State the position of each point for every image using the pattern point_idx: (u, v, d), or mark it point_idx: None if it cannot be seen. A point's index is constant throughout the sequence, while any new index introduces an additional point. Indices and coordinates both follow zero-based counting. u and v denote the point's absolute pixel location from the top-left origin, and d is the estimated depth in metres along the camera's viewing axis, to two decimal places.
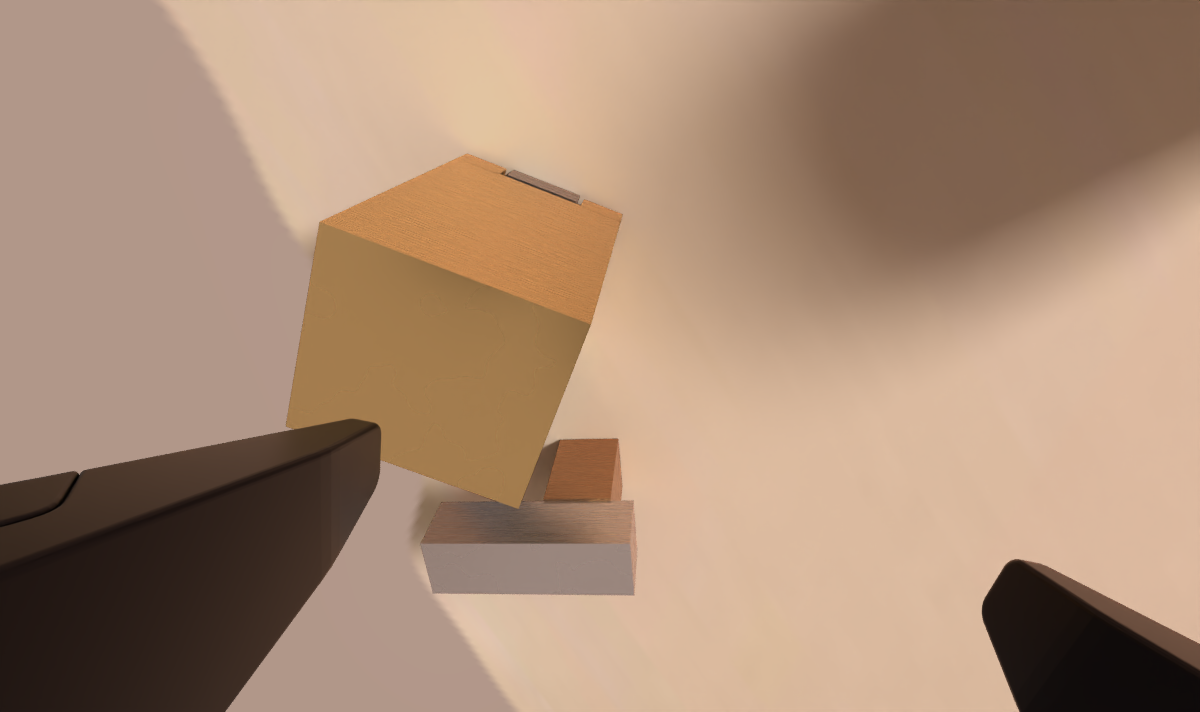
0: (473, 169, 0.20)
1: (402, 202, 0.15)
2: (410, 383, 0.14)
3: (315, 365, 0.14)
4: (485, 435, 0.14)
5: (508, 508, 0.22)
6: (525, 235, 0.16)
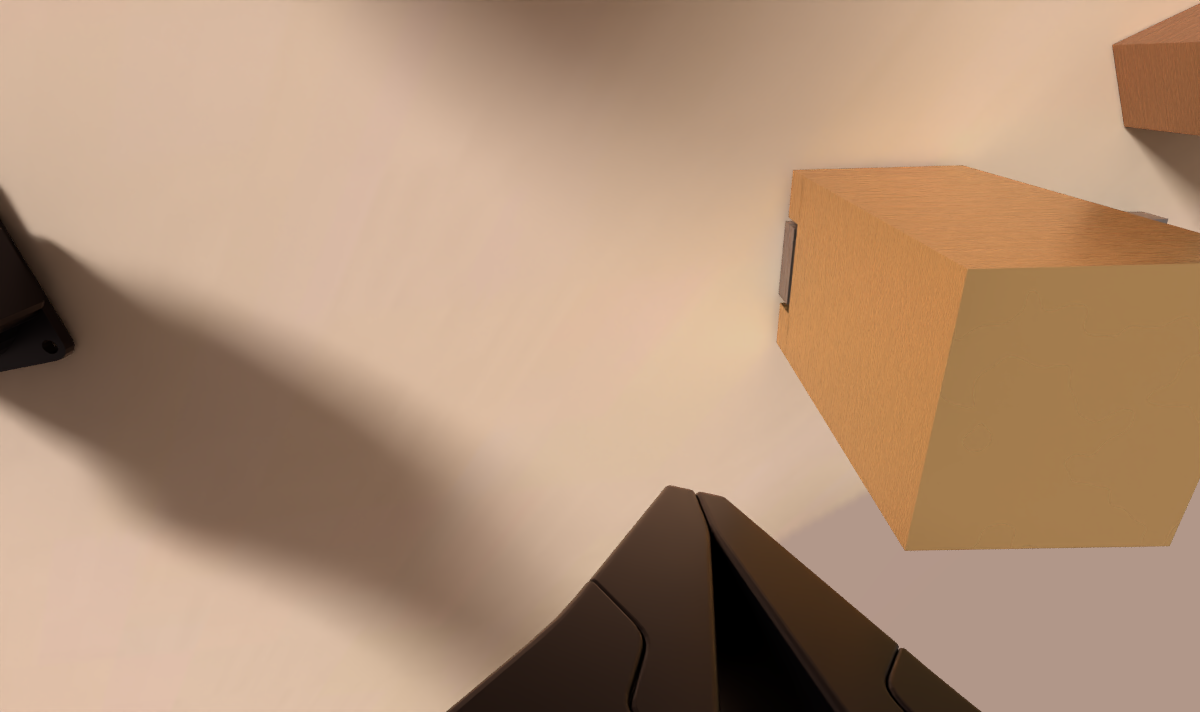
0: (792, 343, 0.19)
1: (855, 445, 0.14)
2: (1088, 437, 0.11)
3: (1077, 530, 0.12)
4: (1160, 338, 0.10)
5: None
6: (856, 312, 0.14)
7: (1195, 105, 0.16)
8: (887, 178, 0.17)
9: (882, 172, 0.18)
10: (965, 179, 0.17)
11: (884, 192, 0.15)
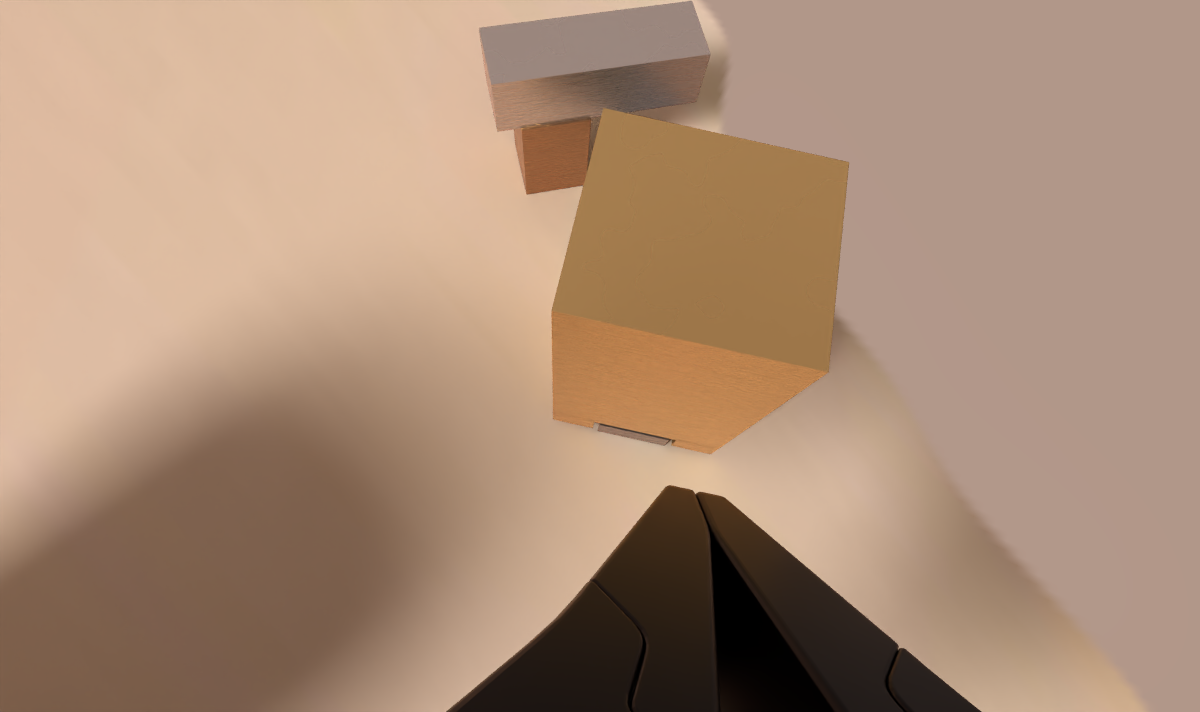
0: (701, 440, 0.20)
1: (757, 400, 0.15)
2: (726, 224, 0.13)
3: (823, 229, 0.13)
4: (644, 181, 0.14)
5: (625, 104, 0.21)
6: (636, 386, 0.16)
7: (567, 148, 0.23)
8: None
9: None
10: None
11: None
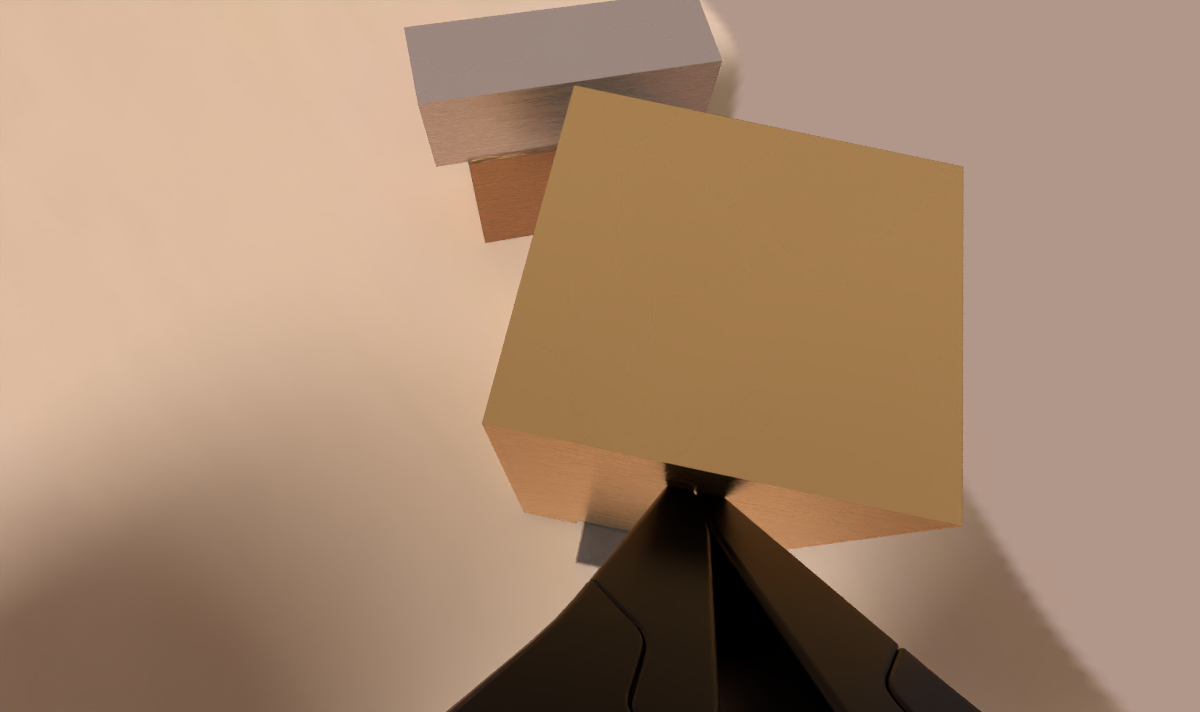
0: None
1: (817, 533, 0.10)
2: (775, 269, 0.08)
3: (931, 274, 0.08)
4: (640, 200, 0.08)
5: None
6: (632, 503, 0.11)
7: (533, 185, 0.17)
8: None
9: None
10: None
11: None
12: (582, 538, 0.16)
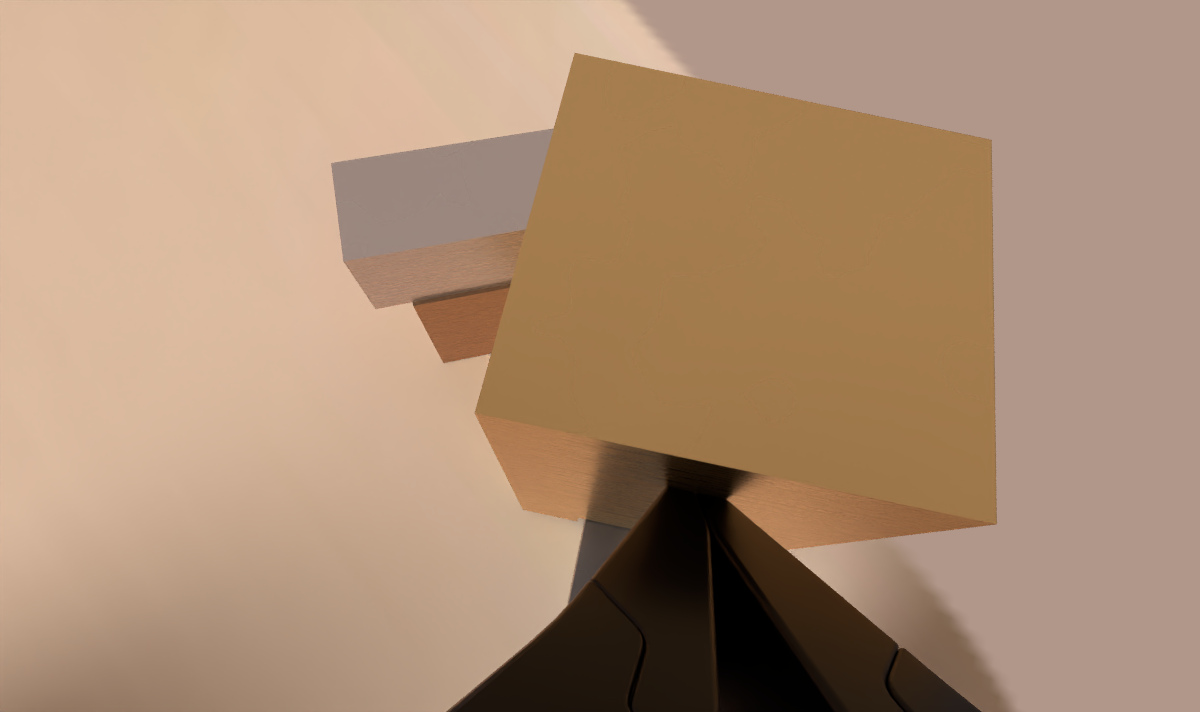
0: None
1: (832, 531, 0.09)
2: (791, 247, 0.08)
3: (959, 254, 0.08)
4: (647, 174, 0.08)
5: None
6: (636, 500, 0.10)
7: (491, 315, 0.15)
8: None
9: None
10: None
11: None
12: None
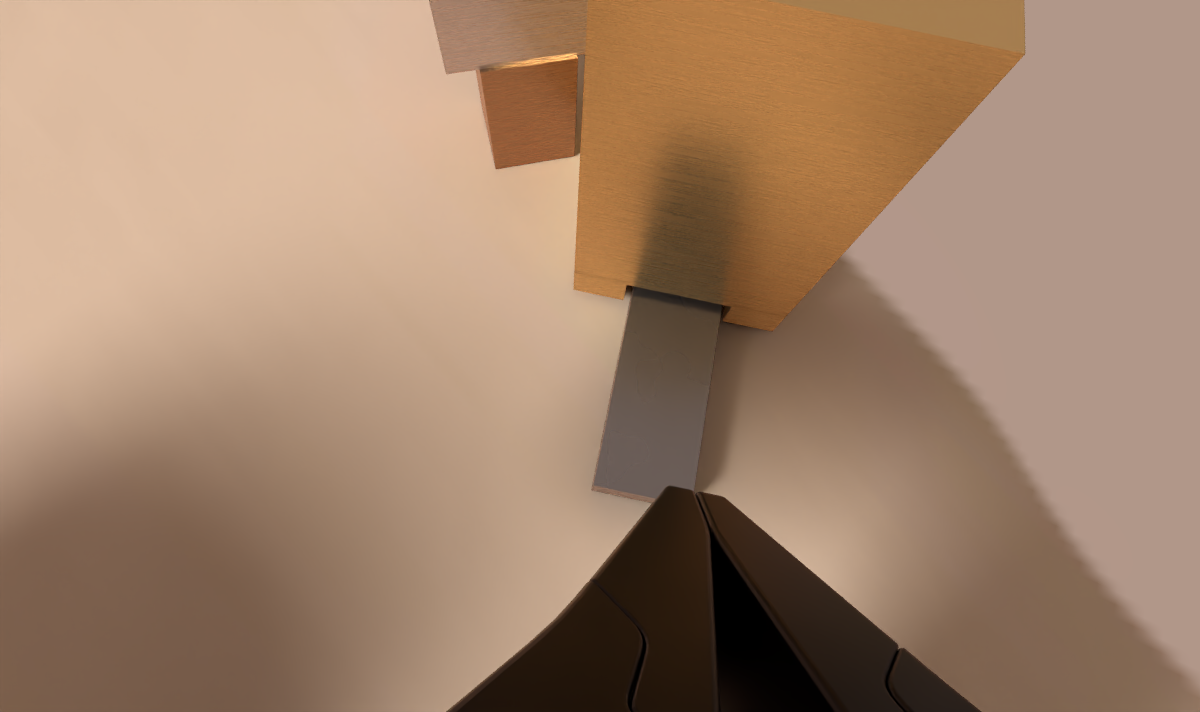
0: (765, 301, 0.16)
1: (874, 176, 0.11)
2: None
3: None
4: None
5: None
6: (698, 177, 0.12)
7: (546, 101, 0.17)
8: None
9: None
10: None
11: None
12: (599, 462, 0.15)
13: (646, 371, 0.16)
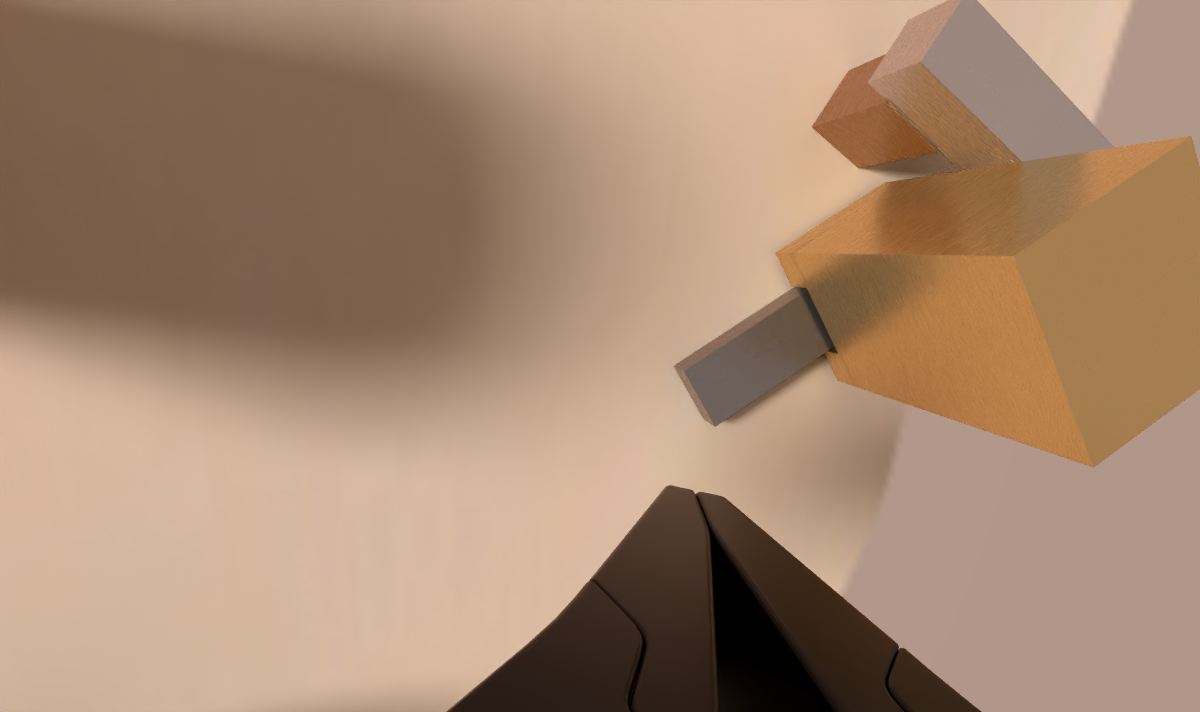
0: (858, 373, 0.22)
1: (984, 416, 0.17)
2: (1153, 312, 0.14)
3: (1189, 378, 0.15)
4: (1150, 226, 0.14)
5: None
6: (919, 324, 0.17)
7: (890, 143, 0.21)
8: (852, 221, 0.21)
9: (840, 218, 0.22)
10: (905, 192, 0.21)
11: (868, 233, 0.19)
12: (697, 363, 0.22)
13: (764, 341, 0.22)
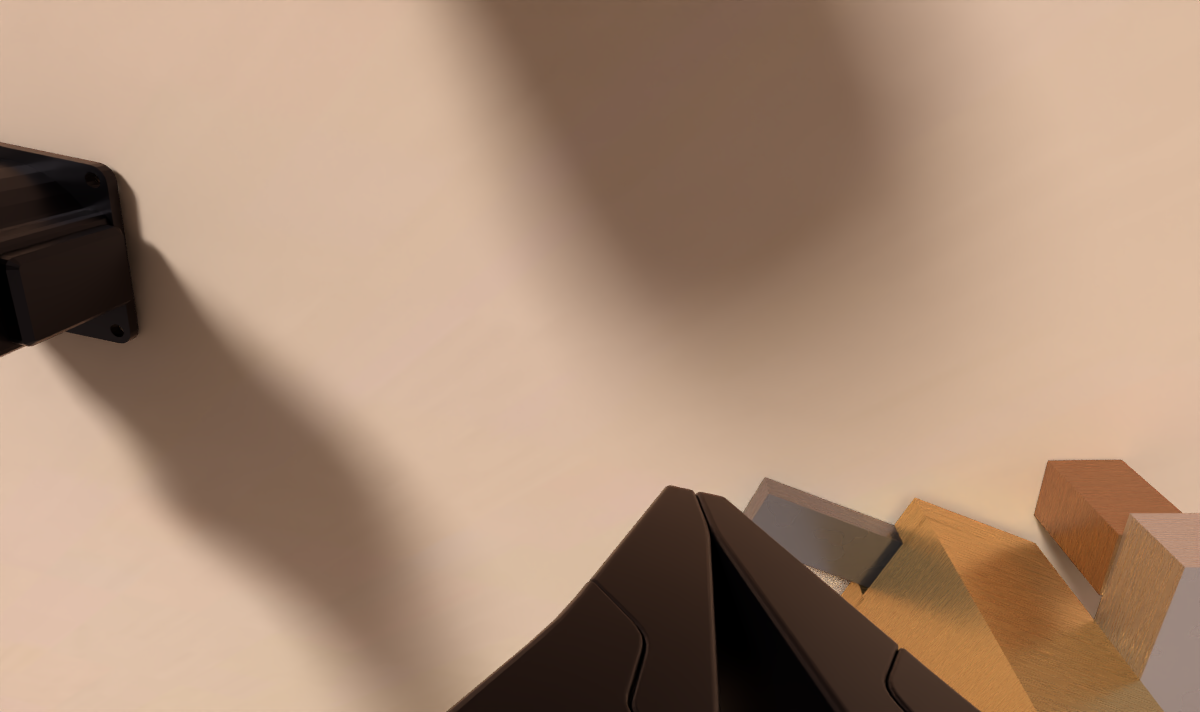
0: None
1: None
2: None
3: None
4: None
5: None
6: (946, 681, 0.19)
7: (1079, 545, 0.21)
8: (987, 552, 0.22)
9: (981, 534, 0.23)
10: (1042, 579, 0.21)
11: (991, 585, 0.20)
12: (782, 499, 0.23)
13: (834, 536, 0.24)
